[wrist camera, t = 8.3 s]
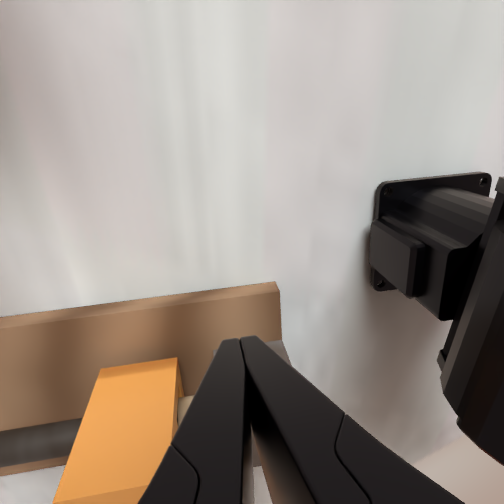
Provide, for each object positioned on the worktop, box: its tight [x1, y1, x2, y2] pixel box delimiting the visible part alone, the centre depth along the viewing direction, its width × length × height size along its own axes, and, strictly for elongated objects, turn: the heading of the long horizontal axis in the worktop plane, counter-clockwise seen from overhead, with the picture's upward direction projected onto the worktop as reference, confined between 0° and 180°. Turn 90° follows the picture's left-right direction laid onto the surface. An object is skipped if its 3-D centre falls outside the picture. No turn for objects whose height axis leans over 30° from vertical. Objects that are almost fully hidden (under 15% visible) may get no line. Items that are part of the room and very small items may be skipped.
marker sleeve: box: [53, 357, 184, 504], centre depth 17 cm, size 4×4×7 cm
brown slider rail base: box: [0, 282, 292, 476], centre depth 18 cm, size 24×10×6 cm, turn 94°
